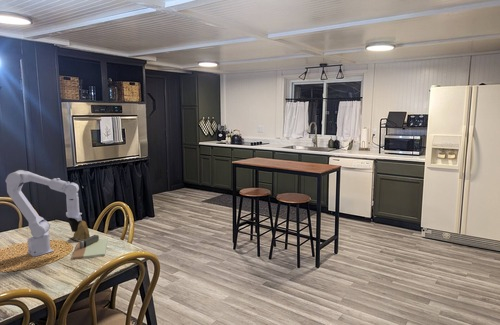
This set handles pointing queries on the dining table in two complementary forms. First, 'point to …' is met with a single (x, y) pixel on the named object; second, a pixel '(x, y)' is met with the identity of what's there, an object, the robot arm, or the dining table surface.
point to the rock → (82, 231)
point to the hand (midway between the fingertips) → (74, 231)
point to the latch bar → (91, 240)
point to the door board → (90, 249)
